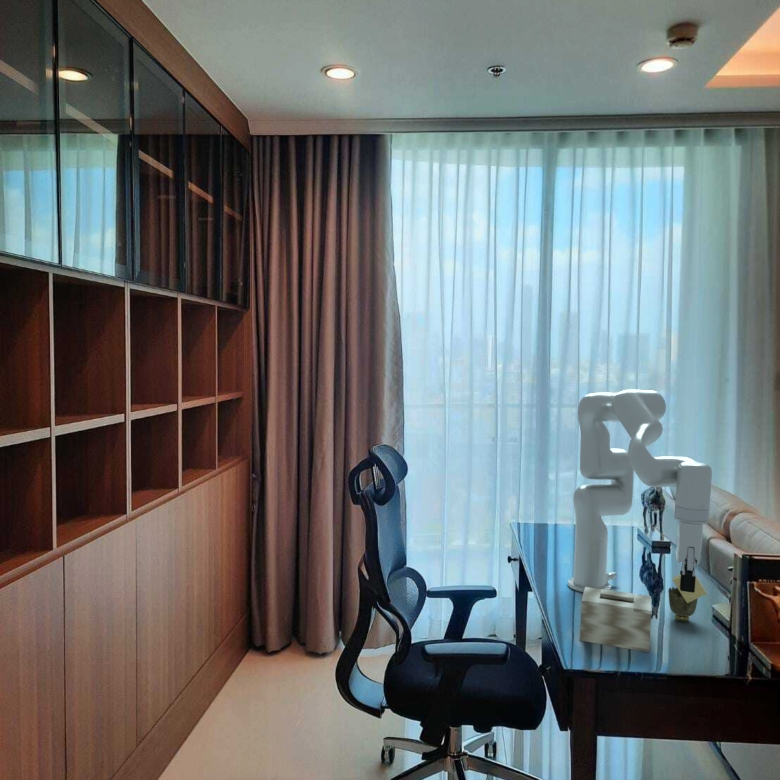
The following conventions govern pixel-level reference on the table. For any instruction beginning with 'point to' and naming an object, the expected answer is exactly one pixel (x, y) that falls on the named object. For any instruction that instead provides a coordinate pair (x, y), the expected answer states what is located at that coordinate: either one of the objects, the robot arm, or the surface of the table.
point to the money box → (616, 619)
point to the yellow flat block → (689, 595)
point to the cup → (681, 605)
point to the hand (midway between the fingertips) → (686, 588)
